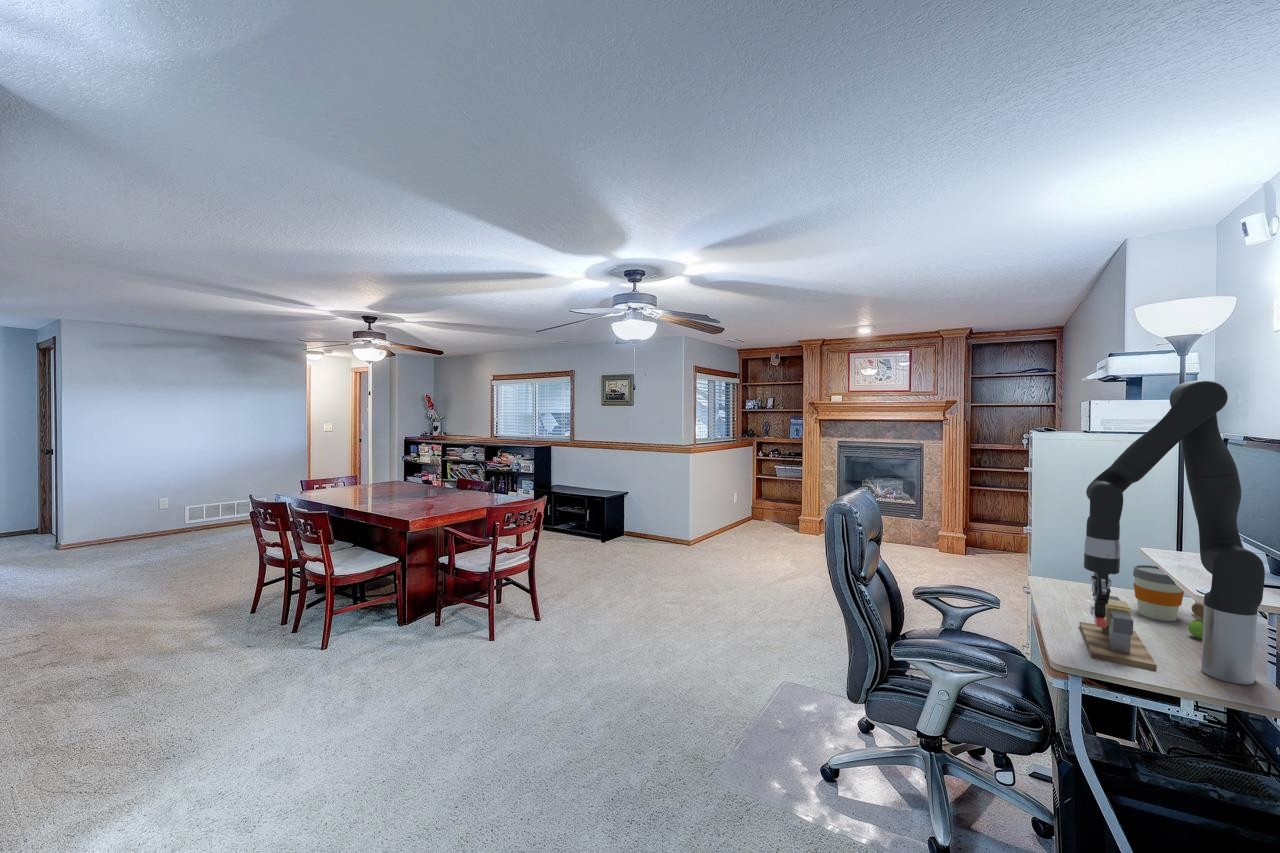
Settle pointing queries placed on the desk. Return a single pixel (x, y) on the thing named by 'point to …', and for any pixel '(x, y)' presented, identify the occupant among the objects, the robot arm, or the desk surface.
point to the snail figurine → (1197, 625)
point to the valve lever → (1097, 618)
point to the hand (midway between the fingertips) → (1099, 616)
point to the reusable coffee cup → (1156, 593)
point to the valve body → (1118, 625)
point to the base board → (1101, 651)
